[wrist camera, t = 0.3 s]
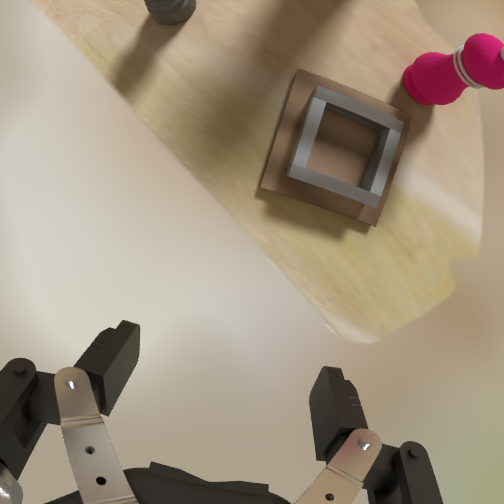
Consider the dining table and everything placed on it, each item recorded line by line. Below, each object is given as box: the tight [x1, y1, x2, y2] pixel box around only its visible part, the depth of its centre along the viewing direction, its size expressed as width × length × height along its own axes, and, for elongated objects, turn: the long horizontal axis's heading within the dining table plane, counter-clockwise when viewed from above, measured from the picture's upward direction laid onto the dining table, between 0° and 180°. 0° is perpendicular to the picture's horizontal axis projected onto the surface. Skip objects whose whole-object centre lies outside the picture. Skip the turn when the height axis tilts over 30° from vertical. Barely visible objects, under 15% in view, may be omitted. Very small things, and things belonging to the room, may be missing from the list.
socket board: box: [260, 69, 412, 227], centre depth 34 cm, size 16×16×6 cm
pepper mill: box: [403, 33, 504, 105], centre depth 23 cm, size 7×7×20 cm
